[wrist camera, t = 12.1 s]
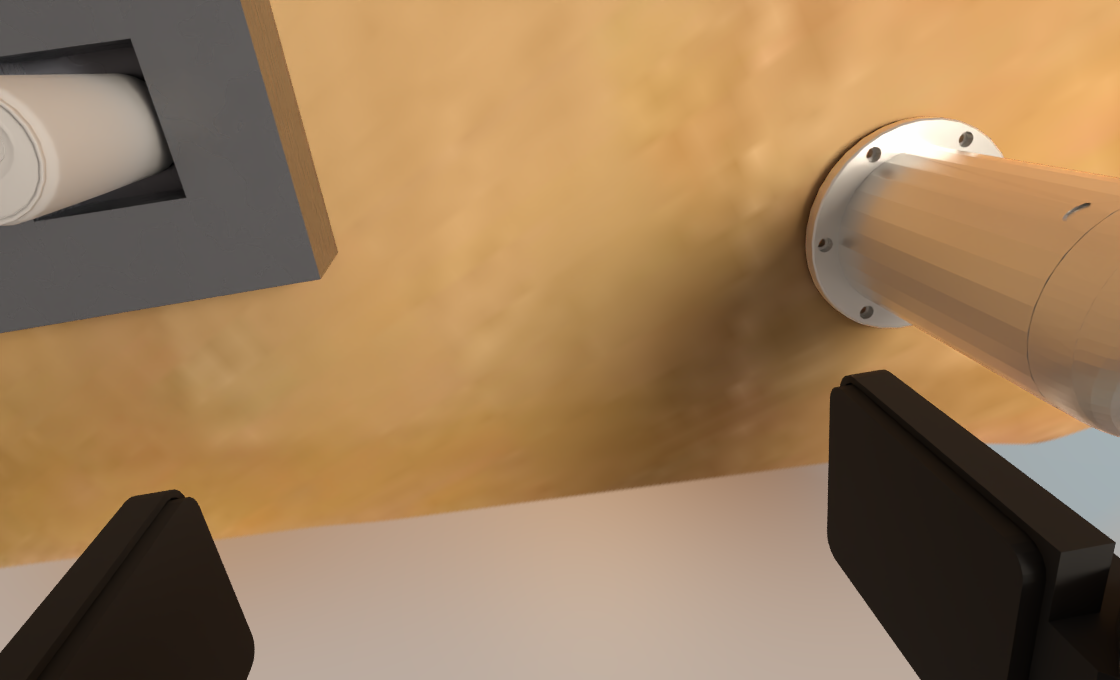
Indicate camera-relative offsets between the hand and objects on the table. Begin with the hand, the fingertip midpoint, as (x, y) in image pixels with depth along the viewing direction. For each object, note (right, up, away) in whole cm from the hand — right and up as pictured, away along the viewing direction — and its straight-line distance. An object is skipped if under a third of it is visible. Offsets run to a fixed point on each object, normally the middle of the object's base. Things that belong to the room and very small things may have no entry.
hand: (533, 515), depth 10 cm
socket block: (-21, +13, +24) cm, 34 cm away
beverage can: (-20, +13, +23) cm, 33 cm away
